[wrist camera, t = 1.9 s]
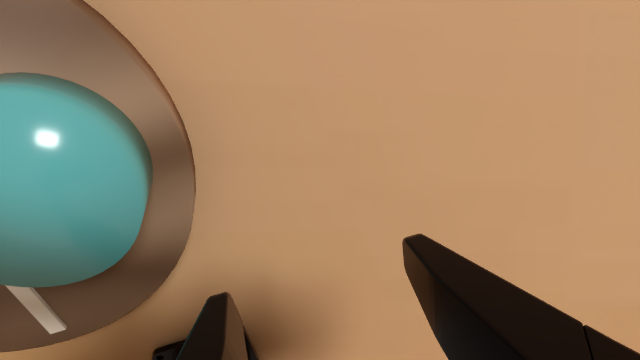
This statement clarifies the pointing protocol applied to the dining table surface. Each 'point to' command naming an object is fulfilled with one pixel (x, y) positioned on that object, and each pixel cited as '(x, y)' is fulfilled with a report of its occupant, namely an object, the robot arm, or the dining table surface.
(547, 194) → the dining table surface
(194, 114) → the dining table surface
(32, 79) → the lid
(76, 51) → the disc
